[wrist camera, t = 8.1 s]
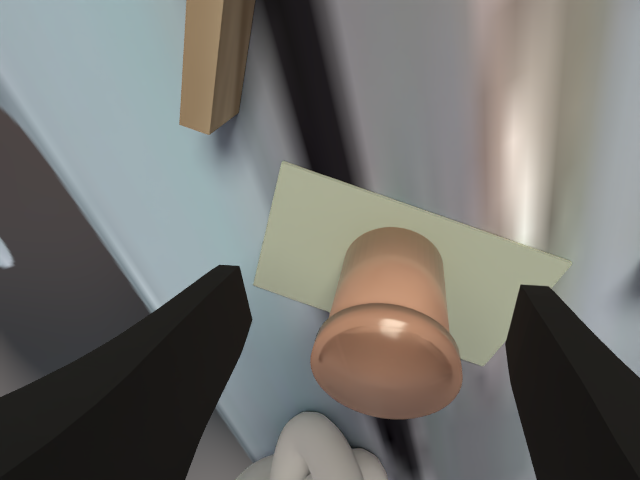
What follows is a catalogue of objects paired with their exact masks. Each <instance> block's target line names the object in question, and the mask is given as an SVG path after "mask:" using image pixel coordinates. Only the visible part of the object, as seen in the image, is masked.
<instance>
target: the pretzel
mask: <svg viewBox="0 0 640 480" xmlns="http://www.w3.org/2000/svg"><path fill="white" fill-rule="evenodd" d="M235 480H388V477H387V473H386V471H385V469H384V468H383V466H382V464H381V462H380V460H379V459H378V458H377V457H376V456H375V455H374V454H372V453H370V452H368V451H367V450H364V449H362V448H355V449H351V447H350V445H349V443H348V442H347V440H346V438H345V437H344V435H343V434H342V432H341V431H340V430H339V428H338V427H337V426H336V425H334V424H333V423H332V422H331V421H330V420H329V419H328V418H327V417H326V416H325V415H323V414H320V413H318V412H301V413H300V414H298V415H296V416H295V417H293V418H292V419H291V420H289V421H288V423H287V424H286V425H285V426H284V428H283V430H282V432H281V434H280V436H279V439H278V442H277V445H276V448H275V452H274V454H272V455H270V456H267V457H264V458H262V459H260V460H258V461H256V462H254V463H253V464H252V465H250V466H249V467H248V468H246V469H245V470H244V471H243V472H242V473H241V474H240V475H239V476H238V477H237V478H236V479H235Z"/></svg>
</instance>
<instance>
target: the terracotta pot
mask: <svg viewBox="0 0 640 480" xmlns="http://www.w3.org/2000/svg"><path fill="white" fill-rule="evenodd" d="M310 363H311V369H312V372H313V375H314V377H315V379H316V381H317V382H318V384H319V385H320V387H321V388H322V389H323V390H324V391H325V392H326V393H327V394H328V395H329V396H330V397H332V398H333V399H335V400H336V401H337V402H339V403H341V404H342V405H344V406H346V407H348V408H350V409H352V410H355V411H357V412H360V413H363V414H366V415H370V416H374V417H379V418H386V419H411V418H418V417H423V416H426V415H430V414H432V413H435V412H437V411H439V410H441V409H443V408H444V407H446V406H447V405H448V404H450V403H451V402H452V401H453V400H454V399H455V397H456V396H457V394H458V393H459V391H460V388H461V385H462V366H461V358H460V352H459V348H458V346H457V344H456V341H455V340H454V338H453V337H452V335H451V334H450V331H449V320H448V309H447V299H446V288H445V277H444V266H443V260H442V257H441V255H440V253H439V251H438V249H437V248H436V247H435V246H434V244H433V243H432V242H431V241H429V240H428V239H427V238H425V237H424V236H422V235H421V234H419V233H417V232H414V231H412V230H408V229H405V228H398V227H383V228H378V229H374V230H371V231H368V232H366V233H364V234H362V235H361V236H359V237H358V238H357V239H356V240H354V241H353V243H352V244H351V245H350V246H349V248H348V250H347V252H346V254H345V258H344V261H343V265H342V269H341V273H340V277H339V281H338V285H337V288H336V292H335V296H334V300H333V304H332V308H331V312H330V315H329V318H328V319H327V320H326V321H325V322H324V323H323V325H322V326H321V327H320V329H319V331H318V333H317V335H316V339H315V343H314V346H313V350H312V353H311V361H310Z"/></svg>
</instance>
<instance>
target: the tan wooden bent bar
mask: <svg viewBox="0 0 640 480" xmlns="http://www.w3.org/2000/svg"><path fill="white" fill-rule="evenodd" d="M254 6H255V0H187V3H186V20H185V38H184V55H183V72H182V90H181V107H180V124H179V125H182V126H185V127H188V128H191V129H194V130H196V131H199V132H202V133H205V134H208V135H210V134H211V133H213V132H214V131H215V130H217V129H218V128H219V127H220V126H222V125H223V124H224V123H226V122H227V121H228V120H230V119H231V118H232V117H234V116H235V115H236V114H238V113H239V107H240V100H241V94H242V87H243V80H244V73H245V67H246V60H247V53H248V46H249V40H250V33H251V26H252V19H253V13H254Z"/></svg>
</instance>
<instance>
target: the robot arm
mask: <svg viewBox="0 0 640 480" xmlns="http://www.w3.org/2000/svg"><path fill="white" fill-rule="evenodd" d="M251 322H252V316H251V312H250V308H249V304H248V300H247V295H246V291H245V287H244V283H243V279H242V275H241V270H240V266H230V265H218V266H217V267H215V268H214V269H212V270H211V271H209V272H208V273H207V274H205V275H204V276H202V277H201V278H200V279H198V280H197V281H196V282H194V283H193V284H191V285H190V286H189V287H187V288H186V289H185V290H183V291H182V292H181V293H179V294H178V295H176V296H175V297H174V298H172V299H171V300H170V301H168V302H167V303H165V304H164V305H163V306H161V307H160V308H159V309H157V310H156V311H154V312H153V313H151V314H150V315H148V316H147V317H145V318H144V319H142V320H141V321H139V322H138V323H136V324H135V325H133V326H132V327H130V328H129V329H127V330H126V331H125V332H123V333H121V334H120V335H119V336H117V337H115V338H113V339H112V340H110V341H109V342H107V343H105V344H104V345H102V346H100V347H98V348H97V349H95V350H93V351H92V352H90V353H88V354H86V355H84V356H83V357H81V358H79V359H77V360H76V361H74V362H72V363H70V364H68V365H66V366H64V367H62V368H60V369H58V370H56V371H54V372H52V373H50V374H48V375H46V376H44V377H42V378H40V379H38V380H36V381H34V382H32V383H30V384H28V385H26V386H24V387H22V388H20V389H18V390H15V391H13V392H11V393H9V394H6V395H4V396H2V397H0V480H185V478H186V476H187V473H188V470H189V468H190V465H191V462H192V460H193V457H194V454H195V452H196V449H197V446H198V444H199V441H200V439H201V437H202V434H203V432H204V430H205V427H206V425H207V423H208V421H209V419H210V417H211V415H212V413H213V411H214V409H215V407H216V405H217V403H218V401H219V399H220V396H221V394H222V392H223V390H224V388H225V386H226V384H227V382H228V380H229V378H230V376H231V374H232V372H233V370H234V368H235V365H236V363H237V361H238V359H239V357H240V355H241V353H242V350H243V347H244V344H245V341H246V338H247V335H248V332H249V329H250V326H251ZM505 346H506V353H507V361H508V369H509V375H510V382H511V386H512V390H513V394H514V398H515V402H516V405H517V409H518V413H519V416H520V420H521V424H522V427H523V431H524V435H525V438H526V442H527V446H528V449H529V453H530V456H531V460H532V464H533V467H534V471H535V475H536V478H537V480H640V378H639V377H638V376H637V375H636V374H635V373H634V372H633V371H632V370H631V369H630V368H628V367H627V366H626V365H625V364H624V363H623V362H622V361H621V360H620V359H619V358H618V357H617V356H616V355H615V354H614V353H613V352H612V351H611V350H610V349H609V348H608V347H607V346H606V345H605V344H604V343H603V342H602V341H601V340H600V339H599V338H598V337H597V336H596V335H595V334H594V333H593V332H592V331H591V330H590V329H589V328H588V327H587V326H586V325H585V324H584V323H583V322H582V321H581V320H580V319H579V318H578V317H577V315H576V314H575V313H574V312H573V311H572V310H571V309H570V308H569V307H568V306H567V305H566V304H565V303H564V302H563V301H562V300H561V298H560V297H559V296H558V295H557V294H556V293H555V292H554V291H553V290H552V289H551V288H550V287H549V286H538V285H522V284H521V285H520V288H519V292H518V296H517V300H516V304H515V308H514V312H513V316H512V320H511V324H510V328H509V331H508V335H507V339H506V343H505Z"/></svg>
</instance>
